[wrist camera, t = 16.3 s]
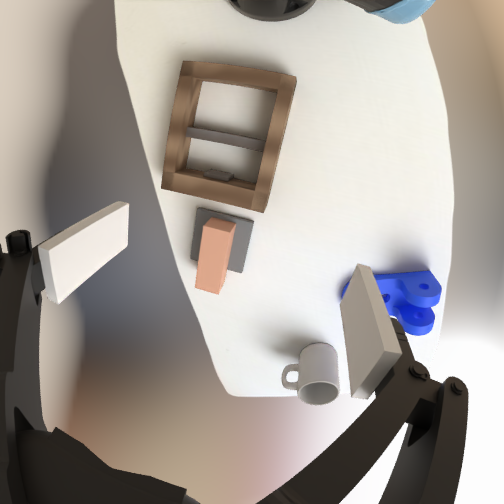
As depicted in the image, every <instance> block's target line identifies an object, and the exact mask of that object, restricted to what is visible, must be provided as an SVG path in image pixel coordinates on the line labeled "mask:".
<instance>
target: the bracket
mask: <svg viewBox="0 0 504 504" xmlns="http://www.w3.org/2000/svg"><path fill="white" fill-rule="evenodd" d="M374 278H375V280H376V282H377V285H378V287H379V290H380V293H381V294H387V296H385V297H382V298H383V300H384V303H385V306H386V308H387V311H388V314H389V315H392V316H395V317H396V318H397V319H398V321H399V323H400V324H401V325H402V326H403V329H404V331H405V332H407V333H409V334H411V335H417V336H420V335H425V334H427V333H429V332H430V331H431V330H432V327H433V324H434V320H435V315H434V312H433V311H432V309H431V307H433V306H435V305H436V304H438V302H439V300H440V295H441V290H442V288H441V285H440V284H439V282H438V281H437V280H436V278H435V277H434V275H433V274H432V273H431V271H419V272H406V273H393V274H379V275H374ZM349 283H350V281H349V282H348V283H347V284H346V286H345V287H344V289H343V292H342V299H343V296H344V294H345V292H346V290H347V287H348V285H349Z"/></svg>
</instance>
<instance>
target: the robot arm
mask: <svg viewBox="0 0 504 504" xmlns="http://www.w3.org/2000/svg"><path fill="white" fill-rule="evenodd" d="M229 1H230V3H231V4H232V6H233V7H234V8H235V9H236V10H237V11H238V12H240V13H241V14H243V15H245V16H247V17H249V18H252V19H256V20H261V21H283V20H288V19H291V18H294V17H297V16H299V15H301V14H303V13H304V12H306V11H307V10H308V9H309V8H310V7H311V6H312V5H313V4H314V2H315V0H229ZM344 1H347V2H349V3H351V4H354V5H356V6H358V7H360V8H363V9H364V10H365V11H366V12H367V13H370V14H375V15H377V16H379V17H381V18H384V19H386V20H388V21H390V22H392V23H396V24H406V23H409V22H411V21H413V20H415V19H416V18H418V17H419V16H421V15H422V14H423V13H424V12H425V11H426V10H427V9H428V8H429V7H430V6H431V5H432V4H433V3H434V2H435V1H436V0H344ZM128 214H129V203H125V202H121V201H117V202H116V203H113V204H112V205H110V206H108V207H106V208H104V209H102V210H100V211H98V212H96V213H94V214H92V215H91V216H89V217H87V218H85V219H83V220H82V221H80V222H78V223H76V224H74V225H72V226H71V227H69V228H67V229H65V230H63V231H60V232H58V233H57V234H55V235H54V236H52V237H50V238H49V239H47V240H45V241H43V242H42V243H40V244H39V245H37V246H35V247H34V248H32V245H31V237H30V232H29V231H27V230H17V231H13V232H11V233H9V234H8V235H7V236H6V242H7V249H8V253H2V248H1V244H0V504H200V503H199V502H197V501H196V500H194V499H193V498H191V497H189V496H188V495H186V491H187V489H185V488H182V487H179V486H176V485H173V484H170V483H167V482H164V481H162V480H159V479H156V478H153V477H151V476H146V475H141V474H136V473H131V472H126V471H122V470H117V469H113V468H111V467H109V466H108V465H107V464H105V463H104V462H103V461H102V460H101V459H99V458H98V457H97V456H96V455H95V454H94V453H93V452H91V451H90V450H89V449H88V448H87V447H86V446H85V445H84V444H83V443H81V442H79V441H78V440H76V439H74V438H72V437H71V436H69V435H68V434H66V433H64V432H63V431H62V430H60V429H58V428H57V427H55V429H54V430H53V432H48V431H47V428H46V426H45V424H44V421H43V417H42V407H41V396H40V379H39V333H40V315H41V303H42V296H41V291H42V290H44V289H46V293H47V298H48V299H49V300H51V301H53V302H55V303H57V304H59V303H60V302H61V301H63V300H64V299H65V298H66V297H67V296H68V295H69V294H70V293H72V292H73V290H75V289H76V288H77V287H78V286H80V285H81V284H82V283H83V282H84V281H85V280H86V279H88V278H89V277H90V276H91V275H92V274H93V273H95V272H96V271H97V270H98V269H99V268H101V267H102V266H103V265H104V264H105V263H107V262H108V261H109V260H110V259H112V258H113V257H114V256H115V255H117V254H118V253H119V252H120V251H122V250H123V249H124V248H125V247H127V246H128ZM340 310H341V316H342V323H343V330H344V337H345V345H346V353H347V361H348V370H349V379H350V390H351V397H352V398H360V399H368V398H369V397H370V396H371V395H372V393H373V392H374V391H375V395H376V399H375V400H374V401H373V402H372V403H371V404H370V405H369V406H368V407H367V409H366V410H365V411H364V412H363V413H362V414H361V415H360V416H359V417H358V418H357V419H356V420H355V421H354V423H352V424H351V426H349V428H348V429H347V430H346V431H345V432H344V433H343V434H341V435H340V437H338V438H337V439H336V440H335V441H334V442H333V443H332V444H331V445H330V446H329V447H328V448H327V449H326V450H325V451H323V453H321V454H320V455H319V456H318V457H317V458H316V459H314V460H313V461H312V462H311V463H310V464H309V465H307V466H306V467H305V468H304V469H303V470H302V471H300V472H299V473H298V474H296V475H295V476H294V477H293V478H291V479H290V480H289V481H288V482H286V483H285V484H284V485H282V486H281V487H279V488H278V489H277V490H275V491H274V492H273V493H271V494H269V495H268V496H266V497H265V498H264V499H262V500H261V501H259V502H258V503H256V504H339V503H340V502H341V501H342V500H343V499H344V498H345V497H346V496H347V495H348V493H349V492H350V491H351V490H352V489H353V488H354V487H355V486H356V485H357V484H358V483H359V481H360V480H361V479H362V478H363V477H364V476H365V475H366V473H367V472H368V471H369V470H370V469H371V467H372V466H373V465H374V464H375V462H376V461H377V460H378V459H379V457H380V456H381V455H382V453H383V452H384V451H385V450H386V448H387V447H388V445H389V444H390V443H391V441H392V440H393V439H394V437H395V436H396V434H397V433H398V432H399V430H400V429H401V427H402V425H403V424H404V423H405V422H406V423H408V428H407V431H406V434H405V437H404V440H403V443H402V447H401V450H400V452H399V455H398V458H397V461H396V463H395V466H394V469H393V471H392V474H391V476H390V479H389V481H388V484H387V486H386V488H385V491H384V493H383V495H382V498H381V499H380V501H379V504H454V501H455V497H456V493H457V488H458V483H459V479H460V474H461V468H462V462H463V456H464V455H463V454H464V448H465V440H466V430H467V417H468V389H467V387H466V385H465V384H464V383H463V382H462V381H461V380H460V379H458V378H456V377H448V378H447V379H446V380H445V381H444V382H443V384H442V383H440V382H437V381H435V380H432V379H430V374H429V372H428V370H427V368H426V367H425V366H424V365H423V364H421V363H419V362H418V361H415V359H414V356H413V353H412V351H411V348H410V345H409V342H407V341H408V340H407V337H406V336H405V332H404V329H403V326H402V325H401V324H400V323H399V322H398V320H397V319H395V318H391V317H390V316H389V314H388V311H387V308H386V306H385V303H384V300H383V298H382V295H381V293H380V290H379V287H378V285H377V282H376V280H375V278H374V275H373V273H372V270H371V268H370V267H368V266H365V265H361V264H357V266H356V268H355V271H354V273H353V276H352V278H351V280H350V283H349V285H348V287H347V290H346V292H345V294H344V296H343V299H342V301H341V303H340Z"/></svg>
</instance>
